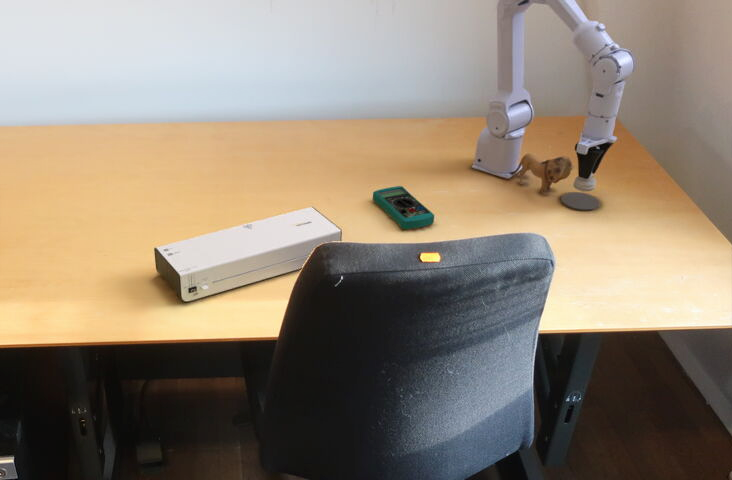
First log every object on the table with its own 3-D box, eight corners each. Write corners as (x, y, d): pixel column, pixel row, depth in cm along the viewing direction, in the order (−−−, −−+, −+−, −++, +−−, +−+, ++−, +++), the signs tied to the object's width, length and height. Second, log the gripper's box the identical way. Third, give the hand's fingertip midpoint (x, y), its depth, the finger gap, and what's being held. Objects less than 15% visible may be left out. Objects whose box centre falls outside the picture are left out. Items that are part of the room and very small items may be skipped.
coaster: (554, 203, 185) (554, 201, 185) (570, 190, 190) (570, 188, 190) (590, 214, 181) (590, 212, 181) (604, 201, 186) (605, 199, 186)
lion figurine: (570, 194, 189) (579, 156, 184) (557, 202, 186) (566, 163, 181) (514, 173, 198) (522, 136, 192) (501, 179, 195) (508, 142, 189)
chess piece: (577, 192, 182) (588, 147, 176) (570, 183, 185) (580, 139, 179) (597, 191, 182) (609, 147, 176) (589, 182, 186) (601, 138, 179)
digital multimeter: (403, 232, 175) (405, 219, 173) (371, 201, 186) (372, 188, 184) (435, 226, 177) (437, 213, 175) (401, 195, 188) (402, 183, 186)
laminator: (310, 233, 174) (311, 205, 171) (343, 260, 166) (345, 232, 162) (156, 275, 161) (153, 246, 157) (183, 307, 153) (181, 278, 149)
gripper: (607, 128, 167) (591, 192, 175) (634, 107, 176) (618, 168, 184) (573, 119, 171) (558, 182, 179) (601, 99, 180) (586, 159, 188)
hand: (586, 174), depth 182 cm, fingers closed on chess piece, 3 cm apart
